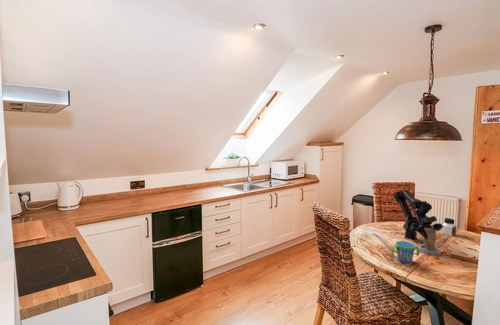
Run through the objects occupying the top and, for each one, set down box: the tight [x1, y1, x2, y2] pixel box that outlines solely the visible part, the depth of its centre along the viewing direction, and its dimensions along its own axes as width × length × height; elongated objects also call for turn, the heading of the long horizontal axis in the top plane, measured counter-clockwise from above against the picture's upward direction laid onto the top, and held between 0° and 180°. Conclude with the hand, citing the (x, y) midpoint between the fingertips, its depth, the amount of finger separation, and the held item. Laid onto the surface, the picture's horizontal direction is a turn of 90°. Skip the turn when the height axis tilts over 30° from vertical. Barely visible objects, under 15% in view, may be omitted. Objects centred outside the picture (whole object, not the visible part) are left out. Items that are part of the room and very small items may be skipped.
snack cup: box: [390, 240, 420, 264], centre depth 165 cm, size 16×10×10 cm
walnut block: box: [423, 228, 437, 250], centre depth 178 cm, size 5×5×13 cm
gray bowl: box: [417, 243, 441, 256], centre depth 179 cm, size 12×12×2 cm
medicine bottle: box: [440, 217, 457, 237], centre depth 208 cm, size 7×7×12 cm
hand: (430, 239), depth 177 cm, fingers closed on walnut block, 5 cm apart
